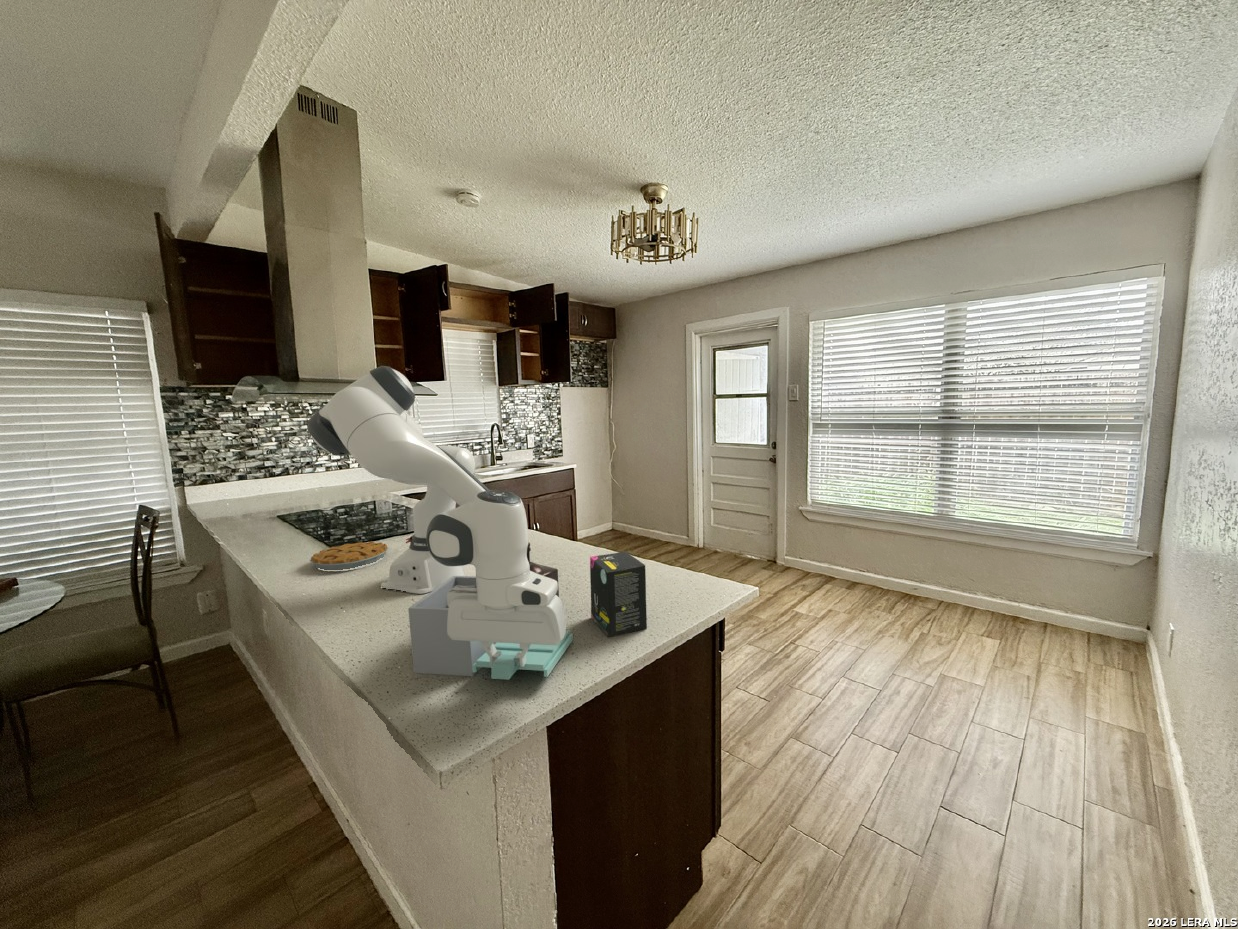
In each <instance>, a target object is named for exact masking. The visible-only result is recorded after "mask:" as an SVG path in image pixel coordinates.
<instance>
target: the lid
mask: <svg viewBox="0 0 1238 929" xmlns="http://www.w3.org/2000/svg"><path fill="white" fill-rule="evenodd" d="M570 632H571V630H570V629H566V633H565V635H564V638H563V639H562V641H561V642H560V643H559V644H558V645H536V644H531V646H530V647H529V649H528V651H527V653H526V664H525V665H524V667H517V666H515V662H514V657H515V656H516V655H517V653H518V652H522V651H523V649H520V644H517V643H499V642H497V643H496V644H495V645H494V646H495V648H496V650H497V651H501V652H502V654H501V655H500V656H499V657H498V658H497V659H496V660H495V661H494V662H493V663H492V664H491V665H490V658H489V656H488V654H487V653H485V654H484V655H482V656H481V657H480V658H479V659H478V660H477V661H476V663H475V664H473V672H476V673H477V672H479V670H480V669H481V668H490V669H491V676H490V677H491V679H496V680H508V681H509V680H510V679H511V678H512V677H513V676H514V674H515V673H516V672H517V671H518V670H527V671H528V670H529V671H540V672H543V677H544V678H548V677H549V675H550V674H551V672H552V671H553V670H554V668H555V666H556V665H557V664H558V663H559V661H560V659H561V658H562V656H563V655H564V654H565V652H566V650H567V649H568V647H570V645H571V643H572V642H573V640H574V634H573V633H570Z"/></svg>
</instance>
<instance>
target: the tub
mask: <svg viewBox="0 0 1238 929" xmlns="http://www.w3.org/2000/svg"><path fill="white" fill-rule="evenodd" d="M457 585H463V586H476V575H475V576H474V575H465V576H453V577H451V578H450V579H449V580H447V581H446V582H444V583H443V584H442V585H440V586H439V587H437V588H436V589H435V590H433V591H430V592H428V593H427V594H426V595H425V596H424V597H422V598H420V599H419V600H418V601H417V602H414V603H413V604H412V605H411V606H409V607H408V620H409V621H408V622H409V631H410V632H409V633H410V645H411V656H412V667H413V668H412V669H413V673H414V674H427V675H428V674H429V675H443V676H445V675H447V676H459V677H460V676H461V677H474V675H475V674H476V673H477V672H473V664H475V663H476V661H477V660H478V659H479V658H480V657H481V656H482V655H484V654H485V653H486V651H485V650H484V649H483V647H482V642H479V641H460V640H452V639H451V638H450V637H449V636H448V634H447V618H448V609H449V608H446V607H447V606H448V604H447V593H448V591H449V590H450V589H452V588H454V587H455V586H457ZM453 591H454V590H453ZM496 643H497V642H493V644H494V645H495V644H496Z"/></svg>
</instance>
